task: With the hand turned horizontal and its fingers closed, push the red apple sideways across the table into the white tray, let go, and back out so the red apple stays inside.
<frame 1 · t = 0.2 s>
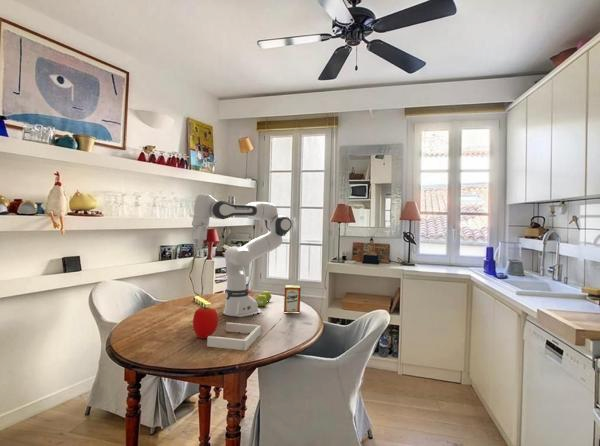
hand: (198, 247, 184), 39 cm above the table, tool pointing down, fingers open, 8 cm apart
baking soda box: (291, 312, 202), on the table
white tray: (234, 339, 152), on the table
dumbbell: (263, 304, 220), on the table
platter: (199, 306, 211), on the table
red apple: (205, 337, 154), on the table
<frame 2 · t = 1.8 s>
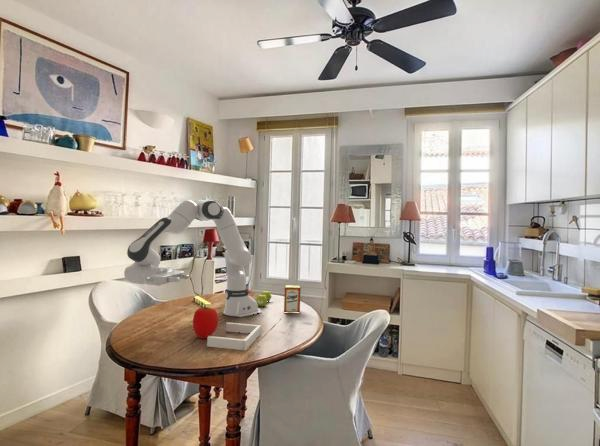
hand: (183, 278, 157), 26 cm above the table, tool horizontal, fingers open, 7 cm apart
nothing on the table moved.
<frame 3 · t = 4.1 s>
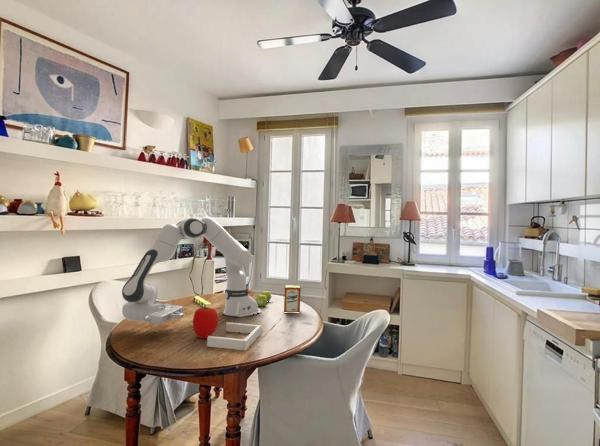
hand: (181, 315, 156), 9 cm above the table, tool horizontal, fingers closed
nothing on the table moved.
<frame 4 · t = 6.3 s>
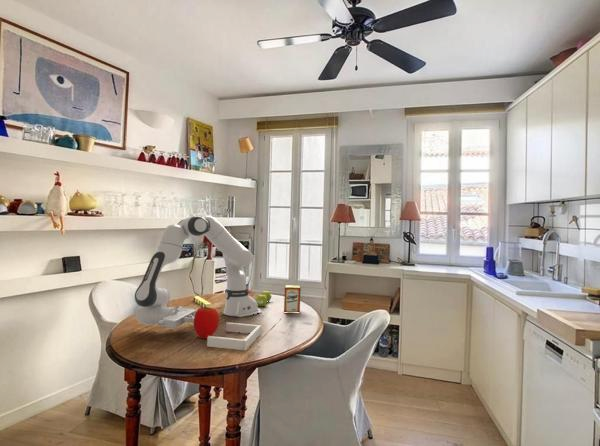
hand: (195, 319, 155), 8 cm above the table, tool horizontal, fingers closed, pressing on red apple
red apple: (205, 337, 154), on the table, touching gripper
everything else where it was.
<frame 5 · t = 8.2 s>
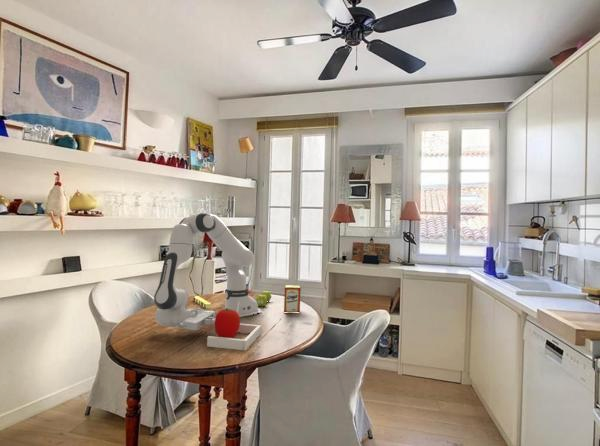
hand: (216, 321, 153), 8 cm above the table, tool horizontal, fingers closed, pressing on red apple
red apple: (227, 339, 152), on the table, touching gripper
everything else where it was.
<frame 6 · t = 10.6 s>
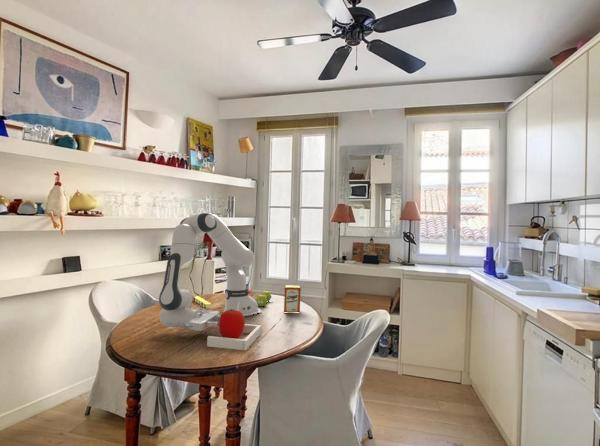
hand: (221, 321, 153), 8 cm above the table, tool horizontal, fingers open, 6 cm apart
red apple: (231, 340, 152), on the table
everything else where it was.
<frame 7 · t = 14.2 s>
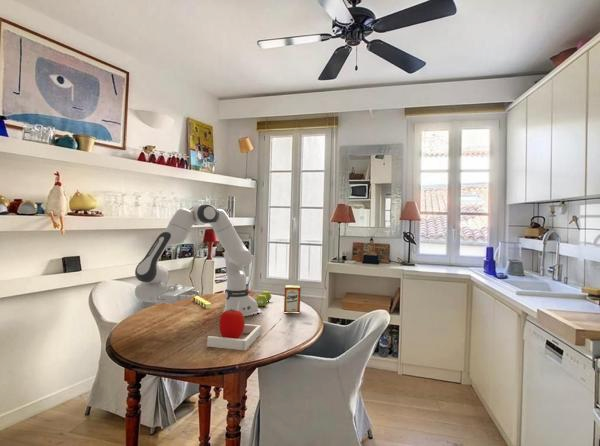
hand: (194, 295, 158), 18 cm above the table, tool horizontal, fingers open, 8 cm apart
nothing on the table moved.
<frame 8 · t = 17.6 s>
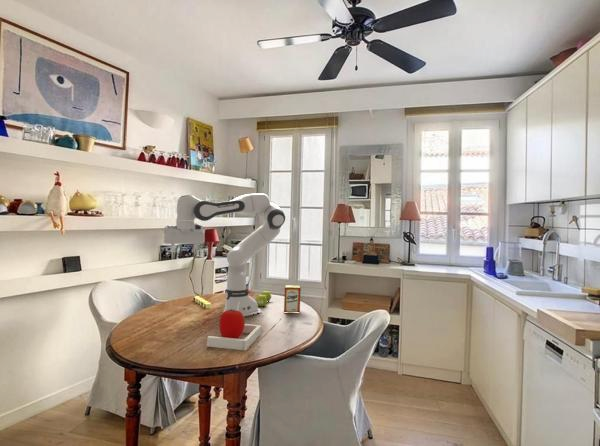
hand: (184, 252, 173), 37 cm above the table, tool pointing down, fingers open, 8 cm apart
nothing on the table moved.
at the end: red apple 1.2 cm from the white tray (horizontally); red apple moved 13.1 cm from its start; the gripper is holding nothing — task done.
